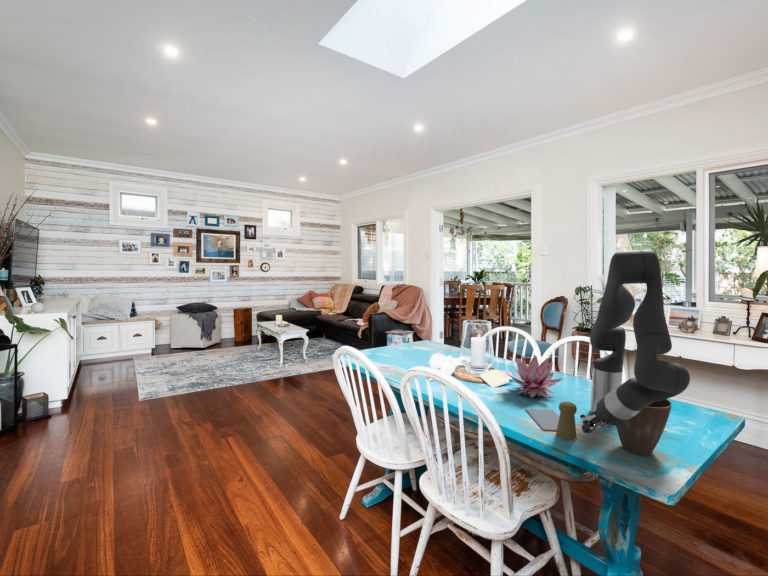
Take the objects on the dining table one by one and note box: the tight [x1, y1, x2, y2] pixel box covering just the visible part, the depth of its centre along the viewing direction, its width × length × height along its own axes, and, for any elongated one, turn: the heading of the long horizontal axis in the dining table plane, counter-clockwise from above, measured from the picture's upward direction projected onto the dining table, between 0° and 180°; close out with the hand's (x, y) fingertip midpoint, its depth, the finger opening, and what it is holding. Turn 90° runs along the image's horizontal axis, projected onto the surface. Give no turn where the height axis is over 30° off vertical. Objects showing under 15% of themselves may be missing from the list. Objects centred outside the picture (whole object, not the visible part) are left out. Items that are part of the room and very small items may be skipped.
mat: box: [525, 408, 560, 432], centre depth 133 cm, size 18×10×1 cm, turn 178°
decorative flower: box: [505, 355, 563, 399], centre depth 159 cm, size 21×21×15 cm
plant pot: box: [615, 399, 673, 456], centre depth 112 cm, size 15×15×16 cm
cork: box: [555, 401, 578, 441], centre depth 121 cm, size 6×6×11 cm
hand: (585, 430), depth 113 cm, fingers closed
